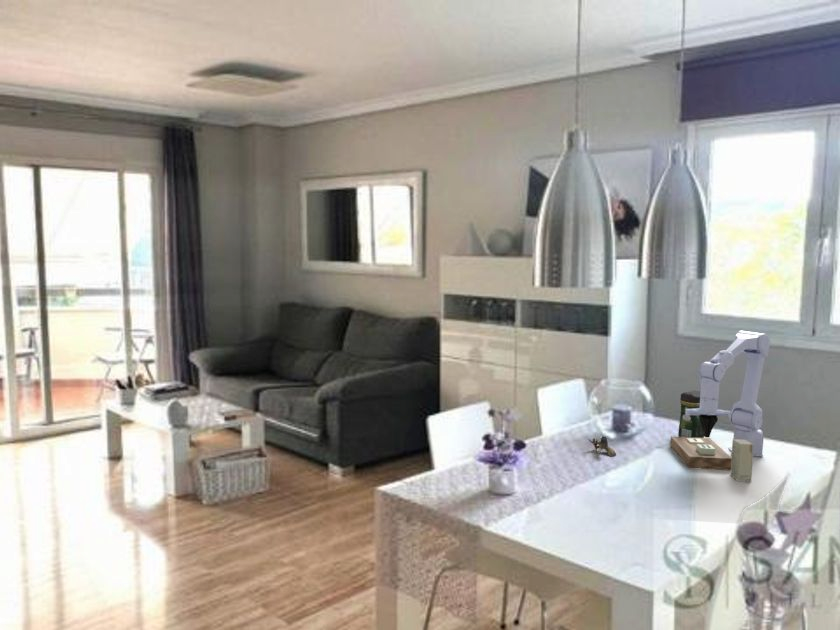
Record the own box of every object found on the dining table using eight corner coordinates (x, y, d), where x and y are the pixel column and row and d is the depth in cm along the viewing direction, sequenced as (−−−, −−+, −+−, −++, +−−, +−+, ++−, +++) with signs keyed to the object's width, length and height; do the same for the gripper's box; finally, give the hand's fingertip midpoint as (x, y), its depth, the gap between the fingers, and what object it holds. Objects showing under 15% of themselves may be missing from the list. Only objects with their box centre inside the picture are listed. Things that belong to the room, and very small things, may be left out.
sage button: (710, 454, 244) (711, 444, 243) (714, 458, 239) (715, 448, 238) (695, 453, 244) (696, 443, 244) (700, 457, 239) (700, 447, 239)
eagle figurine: (584, 449, 251) (604, 451, 244) (590, 430, 254) (610, 432, 247) (597, 457, 255) (617, 460, 248) (603, 439, 257) (623, 441, 250)
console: (709, 448, 259) (709, 438, 258) (731, 470, 235) (732, 458, 235) (670, 446, 260) (670, 436, 260) (688, 468, 236) (689, 456, 236)
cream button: (699, 447, 256) (700, 438, 255) (703, 451, 251) (704, 441, 250) (685, 446, 256) (686, 437, 256) (689, 450, 251) (690, 441, 251)
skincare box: (751, 482, 224) (754, 444, 223) (738, 481, 224) (740, 444, 223) (743, 475, 230) (745, 438, 229) (729, 475, 230) (732, 438, 229)
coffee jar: (688, 434, 278) (692, 387, 276) (707, 439, 272) (710, 391, 270) (674, 437, 272) (677, 390, 270) (692, 442, 266) (695, 394, 264)
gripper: (690, 399, 236) (687, 438, 237) (735, 401, 235) (732, 441, 236) (684, 394, 243) (682, 433, 244) (728, 396, 242) (725, 435, 243)
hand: (706, 436), depth 241 cm, fingers closed
